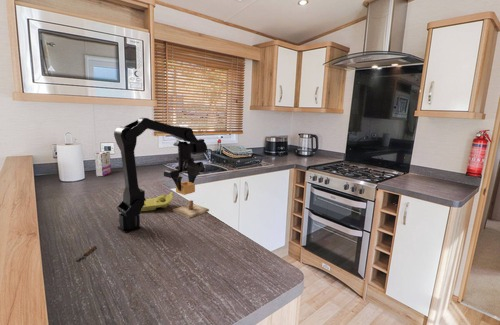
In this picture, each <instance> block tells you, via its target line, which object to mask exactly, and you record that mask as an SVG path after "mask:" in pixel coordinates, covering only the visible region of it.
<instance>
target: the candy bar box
mask: <svg viewBox="0 0 500 325" xmlns="http://www.w3.org/2000/svg"><path fill="white" fill-rule="evenodd" d="M94 159H95V160H94V162H95V173H96V174H95V175H96V177H98V176H103V177H105V175H106V176H107V174H108V175H111V174H112V167H111V166H112V165H111V153H110V151H109V150H108V151H107V150H103V151H99V152H95V153H94ZM110 173H111V174H110Z"/></svg>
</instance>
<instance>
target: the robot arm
mask: <svg viewBox="0 0 500 325" xmlns="http://www.w3.org/2000/svg"><path fill="white" fill-rule="evenodd" d="M146 130H152V131H154V132H155V131H156V132H158V133H159V132H160V133H163V134H168V135H170V136H172V137H173V138H175V139H177V140H176V141H175V142H174V143H173V145H172V146H175V147H177V150H178V151H177V154H178V157H176V160H177V162H178V163H177V164H178V166H176V169H174V168H168V169H164V171H163V177H166V178H169V179H172V181H173V182H174V185H175V187H176V186H177V188H178V190H179V191H181V182H182V179H183V176H181V175H182V174H187V179H188V182H191V183H194V184H195V181H196V177H198V176H199V175H201V173H205V170H206V169H205V166H204V162H203V161H198V162H196V161H194V160H195V159H194V157H192V155H200V154H201V155H202V154H206V153H207V152H208V146H207V144H206V142H205V139H203V138H199V139H197V137H196V135H195V134H194V131H193V129H192V128H191V127H188V126H187V127H186V126H178V125H177V126H176V125H175V126H174V125H171V124H167V123H164V122H160V121H157V120H152V119H150V118H149V117H140V118H138V119H136V120H135V121H133V122H130V123H128V124H126V125H124V126H118V127H116V129H115V130H114V132H113V135H114V136H113V137H114V139H115V142H116V145H117V146H118V149H119V150H120V155H121V156H120V157H121V162H122V163H121V164H122V170H123V178H124V191H123V195H122V201H121V202H120V203H119V204H118V206H116V209H117V211H118V212H119V214H118V218H119V220H118V221H119V226H117V229H119V230H120V231H122V232H123V233H130V232H133V231H135V230H139V229H141V228H142V226H141V219H140V218H141V216H140V215H141V212H142V211H141V208H142V207H143V206H144V201H146V199H147V198H145V197H146V196H145V195H146V194H145V193H146V192H145V190H144V189H141V188H140V187H139V182H138V173H137V165H136V155H135V149H136V146H137V139H138V137H139V136H141V135H142V134H143V133H145V131H146Z"/></svg>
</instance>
